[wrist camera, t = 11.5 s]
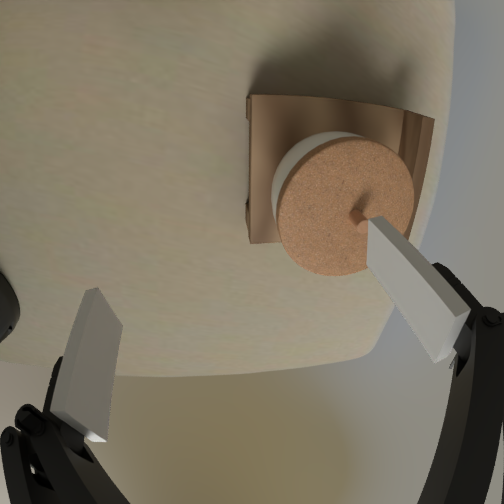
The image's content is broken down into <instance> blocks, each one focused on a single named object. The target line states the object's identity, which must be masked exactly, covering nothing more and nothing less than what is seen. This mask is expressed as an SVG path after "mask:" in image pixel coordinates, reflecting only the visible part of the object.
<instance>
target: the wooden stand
mask: <svg viewBox="0 0 504 504" xmlns="http://www.w3.org/2000/svg"><path fill="white" fill-rule="evenodd" d="M246 118H247V119H248V121H249V203H246V224H247V228H248V232H249V240H250V244H259V243H275V242H281V239H280V236H279V233H278V230H277V225H276V222H275V218H274V215H273V209H272V202H271V192H272V183H273V178H274V175H275V172H276V169H277V167H278V165H279V163H280V162H281V160H282V158H283V157H284V156H285V155H286V153H287V152H288V151H289V150H290V149H291V148H292V147H293V146H294V145H296V144H297V143H298V142H300V141H302V140H303V139H305V138H307V137H309V136H311V135H314V134H318V133H322V132H331V131H340V132H348V133H353V134H357V135H360V136H363V137H366V138H369V139H372V140H375V141H378V142H380V143H382V144H384V145H385V146H387V147H389V148H391V149H392V150H393V151H394V152H396V153H397V154H398V155H399V156H400V158H401V159H402V160H403V161H404V163H405V164H406V166H407V168H408V170H409V172H410V175H411V178H412V181H413V187H414V205H413V212H412V215H411V219H410V221H409V224H408V226H407V229H406V231H405V232H404V234H403V236H404V237H405V238H406V239H407V240H408V239H409V236H410V232H411V229H412V225H413V222H414V218H415V214H416V211H417V207H418V203H419V199H420V195H421V190H422V186H423V182H424V177H425V172H426V167H427V162H428V157H429V152H430V146H431V140H432V134H433V127H434V120H435V119H433V118H430V117H427V116H424V115H421V114H418V113H414V112H411V111H408V110H403V109H398V108H393V107H388V106H383V105H377V104H371V103H364V102H357V101H350V100H342V99H333V98H324V97H312V96H299V95H279V94H250V98H246Z"/></svg>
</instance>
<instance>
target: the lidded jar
mask: <svg viewBox="0 0 504 504" xmlns="http://www.w3.org/2000/svg"><path fill="white" fill-rule="evenodd" d="M271 202H272V209H273V215H274V218H275V222H276V225H277V230H278V233H279V236H280V239H281V242H282V244H283V246H284V248H285V250H286V252H287V253H288V254H289V256H290V257H291V258H292V259H293V260H294V261H295V262H296V263H297V264H298V265H300V266H301V267H303V268H305V269H306V270H308V271H311V272H313V273H316V274H321V275H326V276H341V275H348V274H352V273H356V272H359V271H361V270H364V269H366V268H368V266H367V265H366V262H367V242H368V219H370V218H374V217H378V216H383V217H384V218H385V219H386V220H387V221H388V222H389V223H390V224H391V225H392V226H393V227H394V228H396V229H397V230H398V231H399V232H400V233H401V234H402V235H403V234H404V232H405V231H406V229H407V226H408V224H409V221H410V219H411V215H412V212H413V205H414V187H413V181H412V178H411V175H410V172H409V170H408V168H407V166H406V164H405V163H404V161H403V160H402V159H401V158H400V156H399V155H398V154H397V153H396V152H394V151H393V150H392V149H391V148H389V147H387V146H385V145H384V144H382V143H380V142H378V141H375V140H372V139H369V138H366V137H363V136H360V135H357V134H353V133H348V132H340V131H331V132H322V133H318V134H314V135H311V136H309V137H307V138H305V139H303V140H302V141H300V142H298V143H297V144H296V145H294V146H293V147H292V148H291V149H290V150H289V151H288V152H287V153H286V155H285V156H284V157H283V158H282V160H281V162H280V163H279V165H278V167H277V169H276V172H275V175H274V178H273V183H272V192H271Z"/></svg>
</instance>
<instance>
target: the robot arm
mask: <svg viewBox="0 0 504 504" xmlns="http://www.w3.org/2000/svg"><path fill="white" fill-rule="evenodd" d="M366 265H367V266H368V268H369V269H370V270H371V272H372V273H373V275H374V276H375V277H376V279H377V280H378V281H379V283H380V284H381V285H382V287H383V288H384V290H385V291H386V292H387V294H388V295H389V297H390V298H391V299H392V301H393V302H394V304H395V305H396V306H397V308H398V309H399V311H400V312H401V314H402V315H403V316H404V318H405V319H406V321H407V323H408V324H409V325H410V327H411V328H412V330H413V331H414V333H415V334H416V336H417V338H418V339H419V341H420V342H421V344H422V345H423V347H424V348H425V350H426V351H427V353H428V354H429V356H430V358H431V359H432V361H433V363H436V362H438V361H440V360H442V359H444V358H446V357H448V356H449V354H450V352H451V350H452V348H454V349H455V350H456V352H457V354H456V355H455V357H454V359H453V361H452V363H451V364H450V367H449V368H450V369H452V367H453V365H454V369H453V376H452V383H451V389H450V394H449V400H448V405H447V409H446V414H445V418H444V423H443V427H442V431H441V435H440V439H439V442H438V446H437V449H436V453H435V456H434V459H433V462H432V465H431V468H430V471H429V474H428V477H427V480H426V483H425V485H424V488H423V491H422V493H421V496H420V498H419V501H418V503H417V504H484V502H485V499H486V496H487V492H488V489H489V485H490V482H491V478H492V473H493V470H494V466H495V461H496V456H497V451H498V446H499V440H500V433H501V427H502V422H503V436H504V313H500V312H499V311H497V310H496V309H494V308H491V307H483V306H482V305H481V304H480V303H479V302H478V301H477V300H476V298H475V297H474V296H473V295H472V294H471V293H470V291H469V290H468V289H467V288H466V287H465V286H464V285H463V284H461V282H460V280H458V278H456V277H455V275H454V274H453V273H452V272H451V271H450V270H449V269H448V268H447V267H445V266H443V265H442V264H440V263H438V262H437V263H434V264H432V265H431V264H430V263H429V262H428V261H427V260H426V259H425V258H424V256H422V254H421V253H420V252H419V251H418V250H417V249H416V248H415V247H414V246H413V245H412V244H411V243H410V242H409V241H408V240H407V239H406V238H405V237H404V236H403V235H402V234H401V233H400V232H399V231H398V230H397V229H396V228H394V227H393V226H392V225H391V224H390V223H389V222H388V221H387V220H386V219H385V218H384V217H383V216H378V217H374V218H370V219H368V242H367V262H366ZM19 317H20V308H19V304H18V301H17V298H16V296H15V294H14V292H13V290H12V288H11V287H10V285H9V284H8V282H7V281H6V280H5V278H4V277H3V276H2V275H1V273H0V343H1V342H2V341H3V340H4V339H5V338H6V337H7V336H8V335H9V334H10V333H11V332H12V331H13V330H14V328H15V326H16V324H17V322H18V320H19ZM122 328H123V325H122V324H121V322H120V321H119V319H118V318H117V316H116V315H115V313H114V312H113V310H112V309H111V307H110V306H109V304H108V302H107V301H106V299H105V298H104V296H103V294H102V293H101V291H100V290H99V288H98V287H97V288H93V289H90V290H86V291H85V294H84V296H83V299H82V302H81V304H80V307H79V310H78V313H77V316H76V318H75V321H74V324H73V327H72V330H71V333H70V336H69V340H68V343H67V346H66V349H65V353H64V356H62V357H59V359H58V361H57V362H56V364H55V365H54V368H53V372H52V378H51V379H50V383H49V385H50V386H49V387H48V391H47V395H46V399H45V403H44V407H43V412H40V411H39V410H38V409H36V408H35V407H34V406H33V405H31V404H25V405H23V406H22V407H21V408H20V409H19V410H18V411H17V414H16V416H15V427H16V428H18V429H20V430H21V431H18V430H17V429H15V428H14V427H11V426H9V427H7V428H5V429H4V430H3V432H2V434H1V438H0V447H1V455H2V462H3V469H4V475H5V480H6V485H7V490H8V494H9V498H10V503H11V504H130V503H129V502H128V500H127V499H126V498H125V497H124V495H123V494H122V493H121V492H120V490H119V489H118V488H117V487H116V485H115V484H114V483H113V481H112V480H111V479H110V477H109V476H108V475H107V473H106V472H105V470H104V469H103V468H102V466H101V465H100V463H99V462H98V460H97V459H96V457H95V456H94V454H93V453H92V451H91V450H90V448H89V447H88V445H87V444H86V443H84V436H85V437H87V438H88V439H90V440H91V441H93V442H107V439H108V426H109V416H110V406H111V397H112V390H113V382H114V375H115V368H116V362H117V356H118V350H119V344H120V338H121V333H122ZM503 439H504V437H503ZM31 467H32V468H34V470H35V474H33V473H32V472H31ZM501 504H504V476H503V493H502V503H501Z"/></svg>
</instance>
